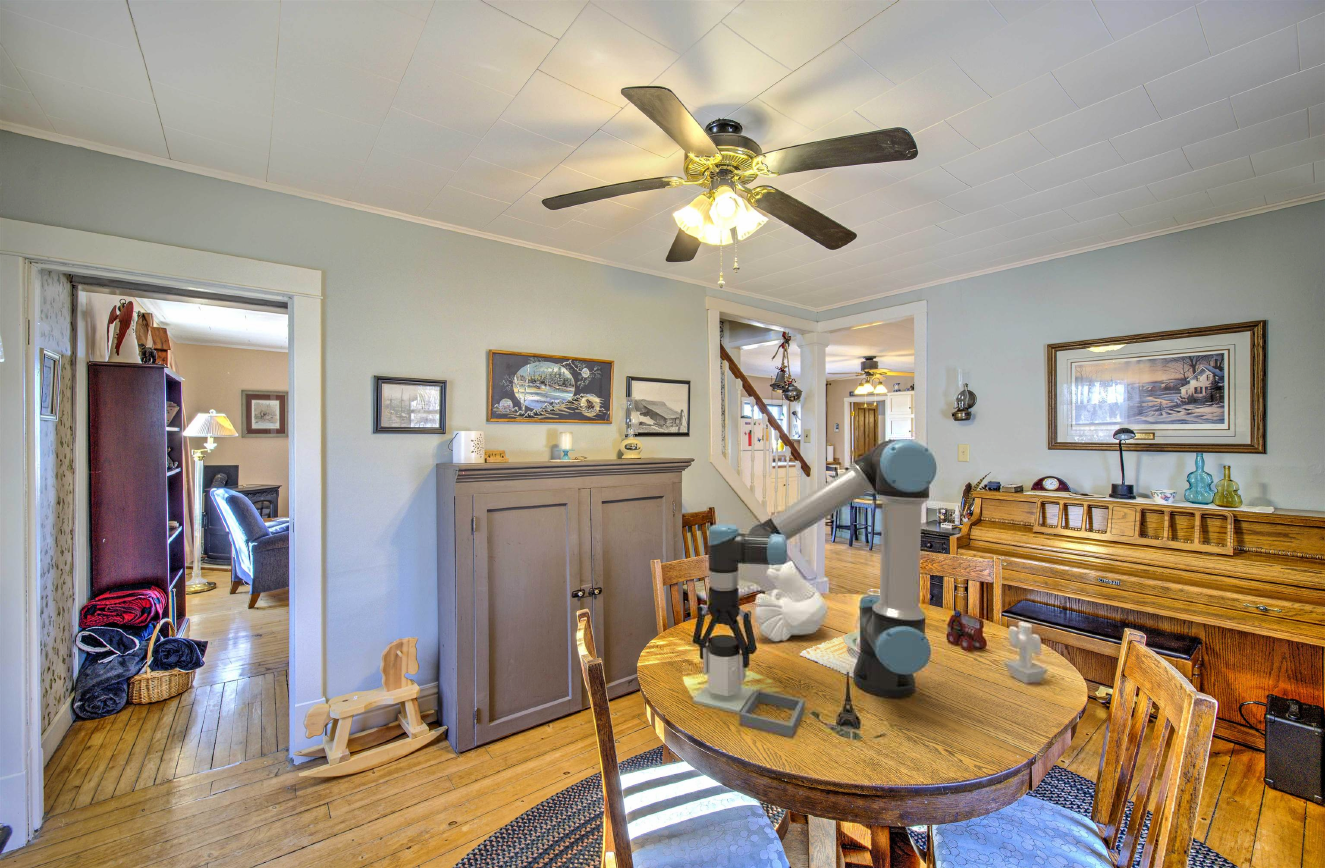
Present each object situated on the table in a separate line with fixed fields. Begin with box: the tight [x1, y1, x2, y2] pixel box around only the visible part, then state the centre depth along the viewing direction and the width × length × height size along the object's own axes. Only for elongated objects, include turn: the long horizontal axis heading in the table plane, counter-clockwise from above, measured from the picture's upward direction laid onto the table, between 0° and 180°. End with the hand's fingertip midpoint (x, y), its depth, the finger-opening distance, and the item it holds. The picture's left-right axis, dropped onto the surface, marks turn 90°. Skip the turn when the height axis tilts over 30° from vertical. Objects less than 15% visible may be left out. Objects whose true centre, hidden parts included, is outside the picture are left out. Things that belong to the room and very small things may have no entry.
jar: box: [707, 634, 742, 696], centre depth 134 cm, size 9×8×12 cm
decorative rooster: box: [754, 561, 828, 643], centre depth 176 cm, size 25×16×25 cm
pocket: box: [738, 689, 806, 739], centre depth 124 cm, size 12×13×2 cm
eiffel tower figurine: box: [808, 670, 887, 741], centre depth 121 cm, size 15×10×13 cm
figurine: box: [1003, 621, 1050, 684], centre depth 143 cm, size 7×9×15 cm
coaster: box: [692, 682, 755, 714], centre depth 134 cm, size 12×12×1 cm
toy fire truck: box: [946, 610, 988, 652], centre depth 165 cm, size 7×12×10 cm, turn 17°
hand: (724, 675), depth 134 cm, fingers closed on jar, 9 cm apart
